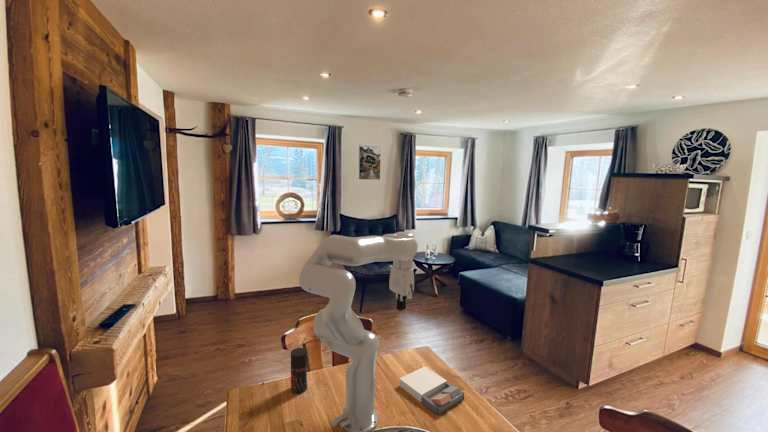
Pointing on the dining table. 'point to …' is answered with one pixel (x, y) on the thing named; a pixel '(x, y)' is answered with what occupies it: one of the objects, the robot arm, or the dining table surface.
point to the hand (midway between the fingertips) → (401, 309)
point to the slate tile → (451, 391)
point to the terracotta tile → (441, 399)
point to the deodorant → (298, 370)
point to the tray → (442, 408)
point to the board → (422, 383)
